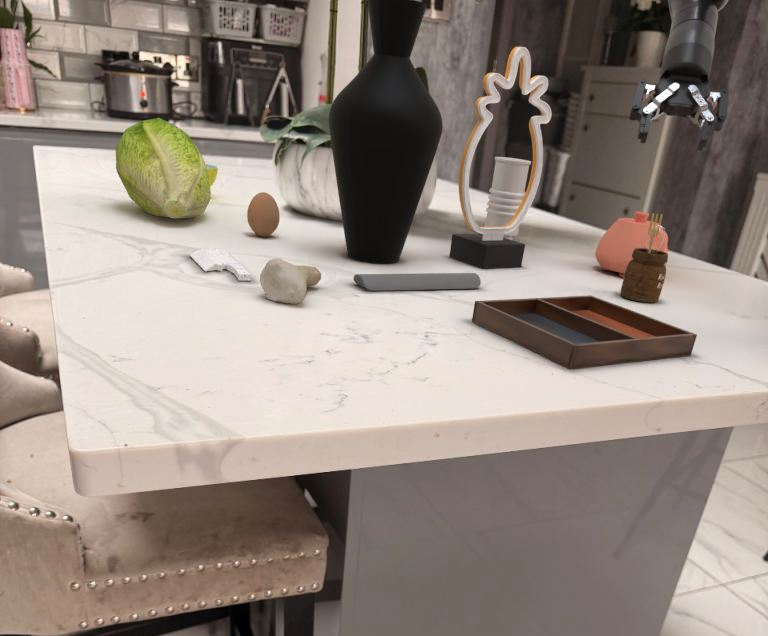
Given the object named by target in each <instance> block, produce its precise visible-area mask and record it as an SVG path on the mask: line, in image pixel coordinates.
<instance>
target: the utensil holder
mask: <svg viewBox="0 0 768 636" xmlns="http://www.w3.org/2000/svg"><path fill="white" fill-rule="evenodd" d="M663 216H664V215H663V213H660V216H659V213H656V215H655V213H654V212H652V214H651V219H650V221H651V222H650V226H649V231H648V235H649V237H650V236H651V239H650V240H651V241H650V242H649V243H650V245H649V247H648V249H647V248H636V249H634V251H633V253H632V258H633V260H631V261H630V262H629V263H628V265H627V268H626V271H625V275H624V277H623V279H622V284H621V288H620V295H621V297H622V298H625V299H627V300H630V301H635V302H639V303H651V304H652V303H656V302H658V301H659V299H660V296H661V294H662V290H663V286H664V283H665V280H666V277H667V276H666V275H667V265H666V266H665V265H664V264H665V263H666V262H667V263H668V261H669V253H668V254H667V253H665V252H662V251H659V250H654V249H652V248H651V246H653V244H652V242H654V240H653V238H655V236H657V237H658V234H659V230H660V226H662V221H663ZM654 218H655V219H654ZM658 219H659V220H658ZM653 222H655V223H654V227H653V228H652V223H653ZM657 223H659V224H658V225H657V227H658V228H657V230H656V224H657ZM662 229H663V230H662V232H663V235H664V231H665V230H664V229H665V227H664V226H662ZM661 235H662V234H661ZM664 237H665V236H664ZM647 239H648V237H647ZM660 239H661V238H660ZM662 239H663V238H662ZM663 240H664V239H663ZM648 241H649V239H648ZM656 241H657V240H656ZM659 242H660V241H659ZM661 242H662V241H661ZM646 243H647V241H646ZM662 243H663V242H662ZM655 244H656V243H655ZM658 244H659V243H658ZM660 245H661V244H660ZM661 246H662V245H661ZM654 247H655V246H654ZM659 249H660V247H659Z"/></svg>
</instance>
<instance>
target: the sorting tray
mask: <svg viewBox="0 0 768 636" xmlns="http://www.w3.org/2000/svg"><path fill="white" fill-rule="evenodd" d="M471 322H472V323H474V324H476V325H478V326H480V327H482V328H485V329H487V330H488V331H490V332H492V333H494V334H496V335H499V336H501V337H502V338H505V339H507V340H509V341H511V342H513V343H515V344H517V345H519V346H521V347H523V348H526V349H528V350H530V351H532V352H534V353H536V354H537V355H540V356H543V357H544V358H547V359H549V360H551V361H553V362H555V363H556V364H559V365H560V366H563V367H565V368H567V369H569V370H573V369H574V370H575V369H582V368H592V367H598V366H599V367H602V366H609V365H619V364H627V363H634V362H635V363H637V362H644V361H654V360H662V359H671V358H680V357H689V356H690V357H691V355H692V352H693V349H694V346H695V343H696V339H697V336H698V334H697V333H695V332H692V331H688V330H685V329H683V328H680V327H678V326H675V325H672V324H671V323H670V324H669V323H667V322H664V321H661V320H659V319H656V318H653V317H651V316H648V315H645V314H643V313H640V312H637V311H634V310H632V309H629V308H626V307H624V306H621V305H618V304H616V303H613V302H610V301H607V300H605V299H602V298H600V297H597V296H594V295H592V294H591V295H590V294H589V295H572V296H571V295H569V296H552V297H551V296H550V297H549V296H547V297H531V298H529V297H528V298H511V299H508V298H507V299H489V300H475V301H474V304H473V311H472V317H471Z"/></svg>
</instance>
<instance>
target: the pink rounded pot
mask: <svg viewBox="0 0 768 636" xmlns="http://www.w3.org/2000/svg"><path fill="white" fill-rule="evenodd" d="M649 217H650V213H648V212H646V211H634V218H632V217H620V218H618V219H616V221H614V222H613V223H612V225H611V226H610V227H609V228H608V229H607V230H606V231H605V233H604V234H603V235H602V237H601V238H600V240H599V242H598V244H597V245H596V246H597V247H596V249H595V252H594V256H595V259H596V261H597V264H598V266H600V267H601V268H602V270H603V271H607V272H617V273H618V277H621V278H624V275H625V271H626V268H627V265H628V263H629V262H630V261H631V260H633V258H632V253H633V251H634V249H636V248H647V249H648V247H649V245H650V243H649V242H650V241H651V240H650V239H651V236H650V237H649V235H648V231H649V226H650V222H651V220H648V218H649ZM654 223H655V221H653V223H652V228H653V227H654ZM658 224H659V222H657V224H656V230H657V228H658V227H657V225H658ZM662 230H663V231H664V235H663V232H662ZM661 234H662V235H661ZM664 236H665V237H664ZM647 237H648V239H649V241H648V239H647ZM660 238H661V239H660ZM662 238H663V239H664V240H663V239H662ZM653 240H654V242H652V244H653V246H651V248H652V249H654V250H659V251H662V252H665V253H667V254H668V255H669V249H668V248H669V247H668V243H669V235H668V234H667V232H666V230H664V228H663V229H662V225H661V226H660V230H659V234H658V237H657V236H655V238H653ZM656 240H657V241H656ZM646 241H647V243H646ZM659 241H660V242H659ZM661 241H662V242H663V243H662V242H661ZM655 243H656V244H655ZM658 243H659V244H658ZM660 244H661V245H662V246H661V245H660ZM654 246H655V247H654ZM659 247H660V249H659ZM667 264H668V261H667V262H666V263H665V264H664V265H665V266H666V267H667Z"/></svg>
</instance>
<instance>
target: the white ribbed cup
mask: <svg viewBox="0 0 768 636" xmlns="http://www.w3.org/2000/svg"><path fill="white" fill-rule="evenodd" d="M494 161H495V162H494V163H495V164H494V171H493V176H492V183H491V187H490V188H489V190H488V192H489V193H490V194H489V195H488V200H489V201H487V204H486V205H487V206H488V207H486V209H485V212H487V213H486V217H485V221H484V226H483V227H502V226H506V225H507V224H508V223H509V222H510V221H511V219H512V218H513V216H514V215H515V213H516V212H517V210H518V208H519V206H520V204H521V202H522V200H523V198H524V196H525V193H526V191H525V190H526V184H527V180H528V175H529V168H530V166H531V165H532V161H531V160H527V159H521V158H515V157H505V156H494ZM519 231H520V225H519V226H518V227H517V228H516V229H515V230H514V231H512V232H510V233H508V234H504V236H503V238H507V239H510V240H513V241H514V239H513V237H517V236H518V235H519Z"/></svg>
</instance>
